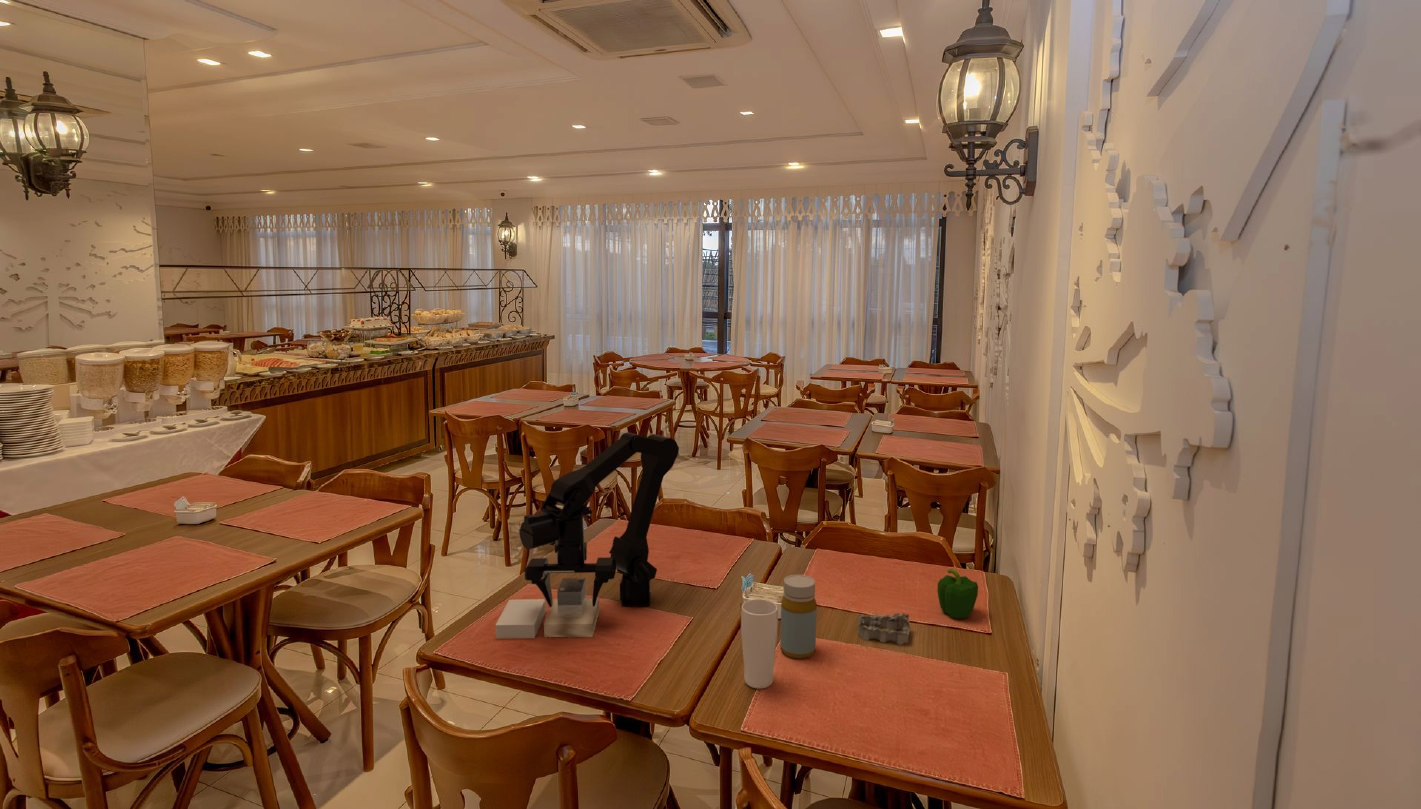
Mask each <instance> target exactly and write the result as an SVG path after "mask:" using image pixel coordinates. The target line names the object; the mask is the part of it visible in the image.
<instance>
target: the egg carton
mask: <svg viewBox="0 0 1421 809" xmlns="http://www.w3.org/2000/svg"><path fill="white" fill-rule="evenodd" d="M857 624H858V626H857V629H858V630H857V631H858V632H857V633H858V634H857V636H858V637H860V638H862V639H863V640H864V641H869V640H870V639H875V640H879V641H880V643H886V642H888V641H889V642H890V641H891V642H892V641H893V642H895V643H896V645H900V646H901V645H903V644H905V643H909V634H910V631H911V625H910V616H909V614H905V613H898V612H897V613H894V614H893V615H889V614H886V615H879V614H871V615H866V614H863V613H860V614H859V616H858V621H857ZM882 628H886V630H884V629H882ZM897 630H902V631H897Z"/></svg>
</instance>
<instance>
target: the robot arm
mask: <svg viewBox="0 0 1421 809" xmlns="http://www.w3.org/2000/svg"><path fill="white" fill-rule="evenodd" d="M679 451H680V446H679V445H678V443H677V441H676V440H675V439H674V438H672V437H668V436H664V435H660V434H656V433H651V434H649V435H648V436H644V435H639V434H636V433H632V432H624V433H622V434H621V435H620V436H619V438H618V439H617V440H616V441H615V442H614V443H612V444H611V445H609V446H608V447H607V448H605V449H604V450H603V451H602V452H600V454H598V455H597V456H595V457H594V458H593V459H591V461H589V462H588V463H587V464H585V466H583V467H581V468H580V469H576V470H573V471H569V472H567V473H566V474H564V475H562V476H560V477H559V478H556V479H555V480H554V481H553V482H552V484H550V491H549V493H548V494H547V497H546V498H545V499H544V501H543V504H542V505H541V507H540V511H541V512H540V513H539V512H538V513H535V514H526V515H524V516H523V522H521V524H520V528H519V529H518V530H519V538H520V542H521V544H522V546H523V547H524V548H525V549H526V550H531V549H535V548H540V547H544V546H547V545H550V544H554V553H555V554H556V556H557V557H556V562H557V563H549V559H548V558H547V557H545V558H544V557H543V558H542V557H538V558H536V557H535V558H534V557H533V558H531V559H530V560H529V561H528V562H527V565H526V566H525V568H524V580H525V581H530V582H531V584H532V585H536V586H537V588H538V589H539V590H540V592H541V593H542V595H543V597H544V599H545V602H547V603H546V604H548V607H549V608H551V607H552V604H553V593H552V587H551V586H552V585H551V574H575V573H576V574H577V573H579V574H580V573H581V574H582V573H583V574H584V573H585V574H586V573H591V574H592V573H594V576H595V577H594V581H593V588H592V589H593V591H592V598H593V599H592V598H591V599H592V603H593V607H594V606H595V604H596V600H597V598H598V596H599V593H600V591H601V588H602V586H603V584H607V583H608V582H609V580H613V579H615V575H616V572H617V573H618V574H621V575H622V576H621V579H620V581H619V600H620V601H621V606H622V607H650V605H651V601H652V600H651V599H652V592H651V580H653V579H656V576H657V572H658V569H657V568H656V567H655V566H654V565H652V564H651V563H650V562H649V561H648V560H649V551H650V549H649V544H648V539H647V538H648V537H647V536H648V532H649V529H650V526H651V522H652V519H653V514H654V511H655V508H656V505H657V504H656V503H657V501H658V497H659V495H660V494H659V493H660V490H661V486H662V483H663V480H664V477H665V476H666V475H667V473H668V472H670V470H671V469H672V468H673V467H674V465H675V462H676V460H677V457H678V455H679ZM638 453H640V462H641V467H642V472H641V477H640V480H639V483H638V486H637V487H638V488H637V490H636V494H635V497H634V500H633V504H632V508H631V511H630V515H629V518H628V523H627V525H626V529H625V531H624V532H623V533H622V534H621V535H620V537H619V536H614V538H613V540H612V547H611V548H610V550H609V552H608V554H610V557H597V559H596V562H594V563H592V562H590V563H589V562H588V563H587V562H585V561H587V559H588V557H587V555H588V542H586V541H585V536H584V535H585V534H584V533H585V532H584V516H588V515H592V514H593V510H591V509H590V508H589V507H587V506H586V503H587V502H588V501H589V500H590V498H592V496H593V495H594V492H595V489H596V488H597V487H598V485H599V484H600V483H601V482H602V481H603V480H605V479H606V478H607V477H608V476H610V475H611V474H612V473H613V472H614V471H616V470H617V469H618V468H620V467H621V466H622V465H623V464H624V463H626V462H627V461H628V460H629V459H631V458H632V457H633V456H634V455H635V454H638ZM557 504H558V505H560V506H562V508H561V507H558V506H556V505H557Z"/></svg>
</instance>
